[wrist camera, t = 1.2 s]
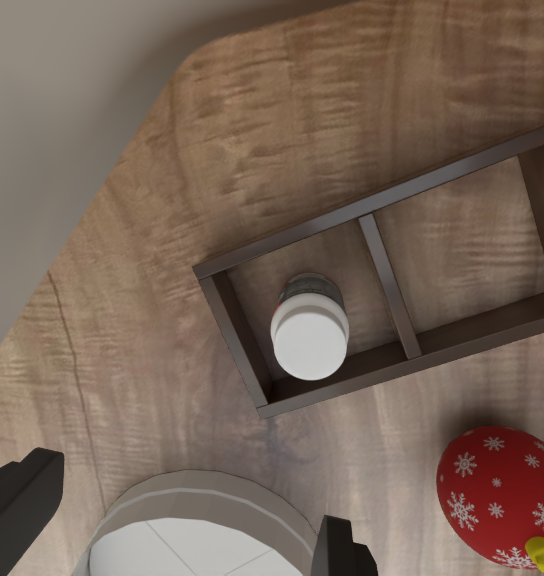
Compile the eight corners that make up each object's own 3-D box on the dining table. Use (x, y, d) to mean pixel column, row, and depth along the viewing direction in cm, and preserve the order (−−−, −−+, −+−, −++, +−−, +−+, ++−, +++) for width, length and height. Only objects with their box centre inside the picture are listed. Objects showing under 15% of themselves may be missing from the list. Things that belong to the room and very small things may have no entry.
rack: (205, 257, 30) (191, 266, 27) (528, 127, 26) (560, 118, 22) (266, 395, 32) (261, 420, 29) (571, 297, 28) (607, 313, 25)
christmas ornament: (411, 417, 31) (453, 520, 22) (527, 390, 30) (627, 489, 20) (437, 506, 33) (487, 639, 24) (547, 485, 32) (649, 617, 22)
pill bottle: (272, 277, 30) (257, 312, 22) (337, 266, 29) (345, 298, 21) (285, 337, 31) (274, 391, 23) (347, 327, 30) (359, 380, 22)
